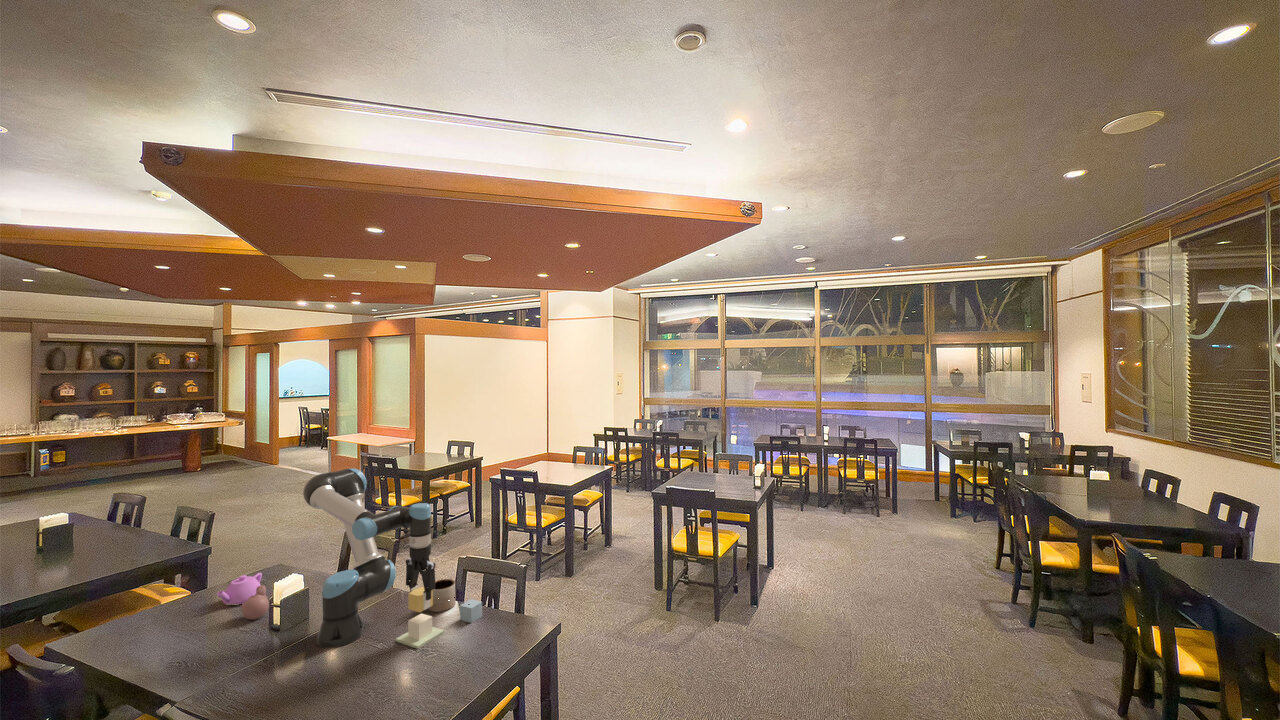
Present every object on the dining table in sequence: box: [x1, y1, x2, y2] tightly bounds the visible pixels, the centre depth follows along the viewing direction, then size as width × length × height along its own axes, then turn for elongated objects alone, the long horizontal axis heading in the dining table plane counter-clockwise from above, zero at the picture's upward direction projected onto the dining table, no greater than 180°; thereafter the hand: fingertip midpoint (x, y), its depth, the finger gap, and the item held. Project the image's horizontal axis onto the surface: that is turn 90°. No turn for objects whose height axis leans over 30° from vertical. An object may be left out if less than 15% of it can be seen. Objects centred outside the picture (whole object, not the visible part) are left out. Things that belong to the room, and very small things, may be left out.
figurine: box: [240, 585, 270, 620], centre depth 202 cm, size 9×11×12 cm
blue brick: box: [459, 598, 483, 624], centre depth 200 cm, size 6×6×6 cm
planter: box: [428, 578, 456, 613], centre depth 210 cm, size 11×11×10 cm
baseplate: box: [395, 612, 445, 650], centre depth 186 cm, size 12×12×7 cm
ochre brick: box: [407, 586, 433, 613], centre depth 186 cm, size 6×6×6 cm
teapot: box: [216, 572, 263, 605], centre depth 218 cm, size 14×20×11 cm
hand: (420, 606), depth 186 cm, fingers closed on ochre brick, 6 cm apart
